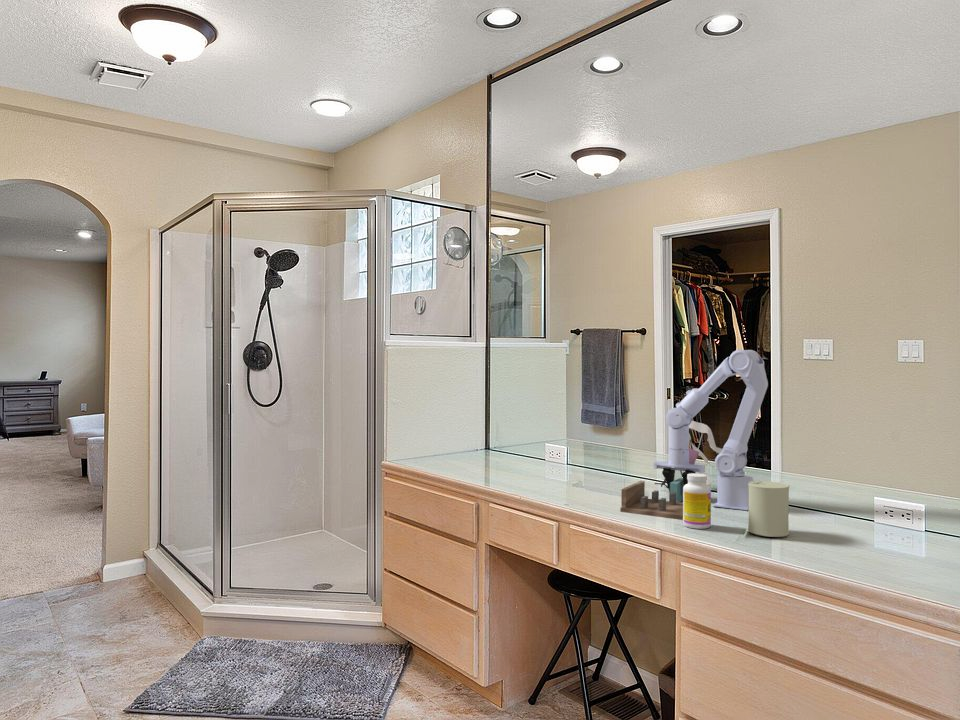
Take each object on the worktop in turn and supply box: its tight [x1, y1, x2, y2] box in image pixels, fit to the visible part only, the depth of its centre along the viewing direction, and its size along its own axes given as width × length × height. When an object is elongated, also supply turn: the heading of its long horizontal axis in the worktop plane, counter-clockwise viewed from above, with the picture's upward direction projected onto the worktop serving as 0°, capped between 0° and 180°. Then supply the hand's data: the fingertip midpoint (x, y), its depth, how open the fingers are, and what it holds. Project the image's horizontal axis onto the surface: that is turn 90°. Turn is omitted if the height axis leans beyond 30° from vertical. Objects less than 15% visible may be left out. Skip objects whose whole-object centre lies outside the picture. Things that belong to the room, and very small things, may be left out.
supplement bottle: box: [682, 472, 712, 530], centre depth 171 cm, size 7×7×13 cm
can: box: [747, 480, 790, 538], centre depth 166 cm, size 9×9×12 cm
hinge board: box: [619, 480, 683, 521], centre depth 189 cm, size 18×16×6 cm
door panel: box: [669, 477, 684, 502], centre depth 202 cm, size 2×10×6 cm, turn 147°
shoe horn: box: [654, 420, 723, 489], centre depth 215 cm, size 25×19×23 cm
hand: (678, 495), depth 202 cm, fingers open, 3 cm apart
